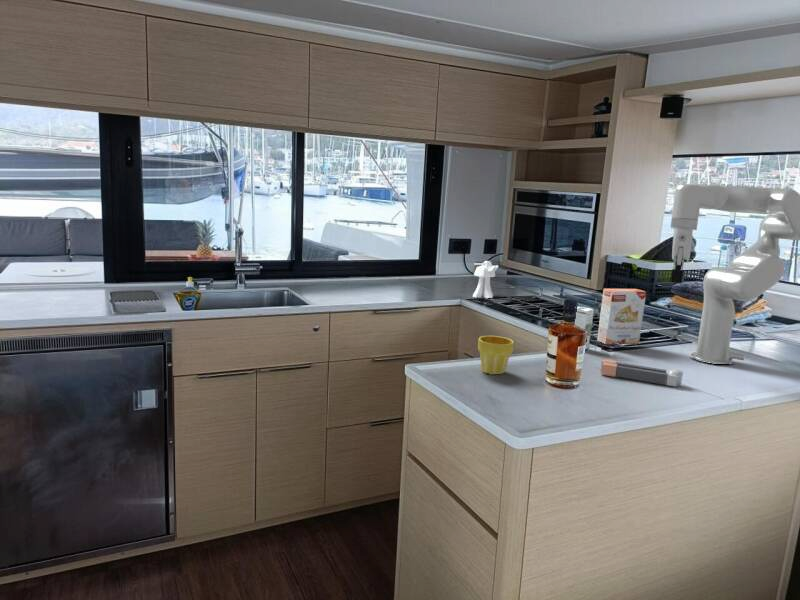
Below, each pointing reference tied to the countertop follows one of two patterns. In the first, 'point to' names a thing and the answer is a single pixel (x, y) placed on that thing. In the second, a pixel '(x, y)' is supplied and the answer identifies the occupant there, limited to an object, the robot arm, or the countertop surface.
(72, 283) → the countertop surface
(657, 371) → the tongs open arm
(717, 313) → the robot arm
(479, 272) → the white mech figurine
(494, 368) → the plant pot
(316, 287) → the countertop surface
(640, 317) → the cracker box
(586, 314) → the syrup box
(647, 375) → the tongs frame
